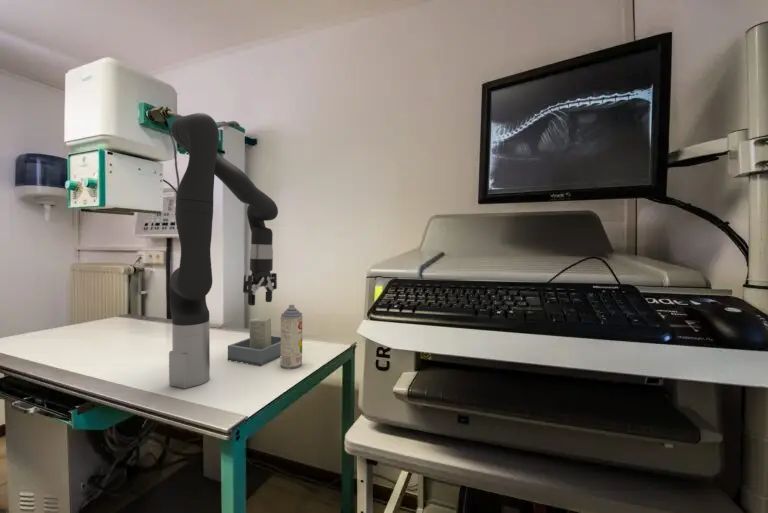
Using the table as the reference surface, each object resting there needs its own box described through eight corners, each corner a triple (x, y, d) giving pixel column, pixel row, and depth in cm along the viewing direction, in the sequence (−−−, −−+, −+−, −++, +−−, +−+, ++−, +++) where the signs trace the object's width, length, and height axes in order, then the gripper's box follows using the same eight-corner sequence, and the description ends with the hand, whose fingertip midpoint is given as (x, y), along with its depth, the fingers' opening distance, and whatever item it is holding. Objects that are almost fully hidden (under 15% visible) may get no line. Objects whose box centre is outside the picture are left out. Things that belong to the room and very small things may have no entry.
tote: (261, 366, 109) (261, 351, 108) (227, 360, 114) (227, 345, 113) (291, 351, 124) (291, 338, 123) (260, 346, 129) (260, 333, 128)
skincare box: (271, 351, 120) (272, 318, 119) (265, 355, 116) (265, 321, 115) (255, 350, 121) (255, 317, 120) (248, 354, 117) (248, 319, 116)
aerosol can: (302, 368, 108) (302, 306, 107) (280, 369, 106) (280, 307, 105) (302, 360, 114) (302, 302, 113) (281, 362, 113) (281, 303, 112)
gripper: (255, 258, 109) (254, 307, 110) (283, 257, 123) (282, 301, 123) (237, 257, 112) (236, 305, 113) (266, 256, 125) (265, 299, 126)
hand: (260, 303), depth 118 cm, fingers open, 8 cm apart
